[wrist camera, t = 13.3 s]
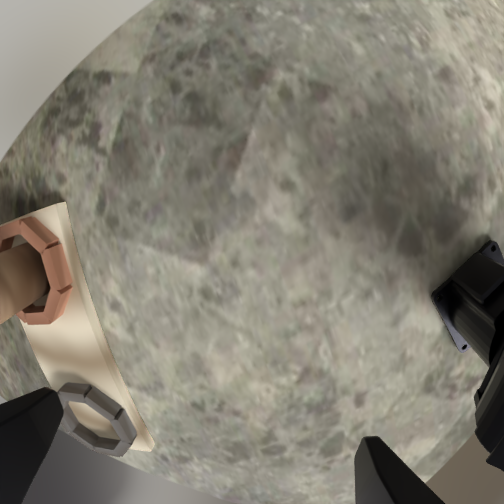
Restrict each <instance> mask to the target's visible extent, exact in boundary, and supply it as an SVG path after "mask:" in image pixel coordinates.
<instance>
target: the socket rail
mask: <svg viewBox="0 0 504 504" xmlns="http://www.w3.org/2000/svg"><path fill="white" fill-rule="evenodd" d="M26 242H29V243H30V244H31V245H32V246H33V247H34V248H35V249H36V250H37V251H38V252H39V253H40V254H41V257H42V260H43V264H44V267H45V271H46V274H47V277H48V281H49V284H50V287H51V289H50V291H49V293H48V294H46V295H45V296H43V297H41V298H40V299H38V300H37V301H35V302H34V303H32V304H30V305H29V306H27V307H26V308H24V309H23V310H21V311H20V312H18V313H17V314H16V315H17V316H18V317H19V318H20V320H21V323H22V325H23V328H24V330H25V333H26V335H27V338H28V340H29V342H30V345H31V347H32V349H33V351H34V353H35V356H36V358H37V360H38V362H39V364H40V366H41V368H42V370H43V372H44V374H45V376H46V378H47V380H48V382H49V384H50V386H51V388H52V389H53V390H55V391H56V392H57V393H58V396H59V398H60V401H61V403H62V406H63V409H64V415H63V418H62V420H61V424H62V425H63V427H64V428H65V430H66V431H67V432H70V433H69V434H70V435H71V436H72V437H74V438H75V439H76V440H78V441H79V442H81V443H82V444H84V445H85V446H86V447H88V448H89V449H91V450H92V451H94V450H95V451H96V452H97V453H101V454H106V455H111V456H116V457H120V456H123V455H124V454H125V453H126V452H127V450H128V449H134V450H141V451H150V452H151V451H152V449H153V447H154V444H155V442H154V440H153V439H152V437H151V435H150V433H149V431H148V430H147V428H146V426H145V424H144V422H143V420H142V418H141V416H140V414H139V412H138V410H137V408H136V406H135V404H134V402H133V400H132V398H131V396H130V394H129V392H128V389H127V387H126V385H125V383H124V381H123V379H122V376H121V374H120V372H119V369H118V367H117V365H116V362H115V360H114V358H113V355H112V353H111V350H110V348H109V345H108V343H107V340H106V338H105V335H104V332H103V330H102V327H101V324H100V322H99V319H98V316H97V313H96V310H95V307H94V305H93V302H92V299H91V295H90V292H89V289H88V286H87V283H86V280H85V276H84V273H83V270H82V266H81V263H80V259H79V255H78V252H77V248H76V244H75V240H74V236H73V232H72V228H71V223H70V219H69V214H68V210H67V205H66V202H62V203H57V204H54V205H51V206H48V207H45V208H43V209H40V210H37V211H34V212H32V213H29V214H26V215H24V216H21V217H19V218H16V219H14V220H11V221H9V222H6V223H4V224H1V225H0V253H1V252H3V251H6V250H8V249H11V248H13V247H16V246H18V245H21V244H23V243H26Z"/></svg>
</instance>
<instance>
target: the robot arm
mask: <svg viewBox="0 0 504 504" xmlns="http://www.w3.org/2000/svg"><path fill="white" fill-rule="evenodd" d="M492 246H493V249H492V250H491V247H492ZM438 295H440V298H439V299H437V297H438ZM431 299H432V301H433V303H434V305H435V307H436V309H437V310H438V312H439V314H440V316H441V318H442V320H443V321H444V323H445V325H446V327H447V329H448V331H449V333H450V335H451V337H452V339H453V341H454V343H455V345H456V347H457V349H458V350H459V351H460V352H461V353H463V352H465V351H467V350H468V349H469V348H470V347H472V348H473V350H474V351H475V352H476V353H477V354H478V355H479V356H480V357H481V359H482V360H483V361H484V362H485V363H486V364H487V366H488V367H489V370H488V372H487V374H486V376H485V378H484V380H483V382H482V384H481V386H480V388H479V389H478V390H477V391H476V393H475V395H474V401H475V405H476V412H475V418H476V425H477V428H476V429H475V434H476V436H477V438H478V439H479V441H480V443H481V445H483V447H484V448H485V449H486V450H487V452H489V453H490V455H489V456H488V458H487V459H486V462H487V463H488V464H490V465H492V466H495V467H497V468H499V469H501V470H502V471H504V259H503V256H502V253H501V251H500V248H499V246H498V244H497V242H495V241H492V240H490V241H489V242H487V243H486V244H485V245H484V246H483V247H482V248H481V249H480V250H479V251H478V252H477V253H475V254H474V255H473V256H472V257H471V258H470V259H469V260H468V261H467V262H466V263H464V264H463V265H462V266H461V267H460V268H459V269H458V270H457V271H456V272H455V273H453V275H452V276H451V277H450V278H449V279H448V280H447V281H446V282H444V283H443V284H442V285H441V286H440V287H439V288H437V289H436V290H435V291H434V292H433V293H432V296H431ZM463 345H464V346H463ZM462 346H463V347H462ZM63 415H64V409H63V406H62V403H61V401H60V398H59V396H58V393H57V392H56V391H55V390H53V389H51V388H48V387H44V388H41V389H38V390H36V391H33V392H31V393H28V394H26V395H23V396H21V397H18V398H16V399H13V400H10V401H8V402H5V403H3V404H0V504H22V502H23V500H24V498H25V496H26V494H27V492H28V490H29V488H30V486H31V484H32V482H33V480H34V478H35V476H36V474H37V472H38V470H39V468H40V466H41V464H42V463H43V461H44V459H45V457H46V455H47V453H48V451H49V449H50V446H51V444H52V441H53V439H54V437H55V434H56V432H57V429H58V427H59V425H60V422H61V420H62V418H63ZM354 464H355V500H356V504H445V503H444V502H443V501H442V500H441V499H440V498H439V497H438V496H437V495H436V494H435V493H434V492H433V491H432V490H431V489H430V488H429V487H428V486H427V485H426V484H425V483H424V482H423V481H422V480H421V479H420V478H419V477H418V476H417V475H416V474H415V473H414V472H413V471H412V470H411V469H410V468H409V467H408V466H407V465H406V464H405V463H404V462H403V461H402V460H401V459H400V458H399V457H398V456H397V455H396V454H395V453H394V452H393V451H392V450H391V449H390V448H389V447H388V446H387V445H386V444H385V443H384V442H383V440H382V439H381V438H380V437H378V436H366V437H363V438H362V440H361V443H360V445H359V447H358V450H357V452H356V454H355V460H354Z"/></svg>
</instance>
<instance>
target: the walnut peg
mask: <svg viewBox="0 0 504 504" xmlns="http://www.w3.org/2000/svg"><path fill="white" fill-rule="evenodd" d="M50 289H51V287H50V284H49V281H48V277H47V274H46V271H45V267H44V264H43V260H42V257H41V254H40V253H39V252H38V251H37V250H36V249H35V248H34V247H33V246H32V245H31V244H30V243H29V242H26V243H23V244H21V245H18V246H16V247H13V248H11V249H8V250H6V251H3V252H1V253H0V324H2V323H3V322H5V321H6V320H8V319H9V318H11V317H12V316H14V315H15V314H17V313H18V312H20V311H21V310H23V309H24V308H26V307H27V306H29V305H30V304H32V303H34V302H35V301H37V300H38V299H40V298H41V297H43V296H45V295H46V294H48V293H49V291H50Z"/></svg>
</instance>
